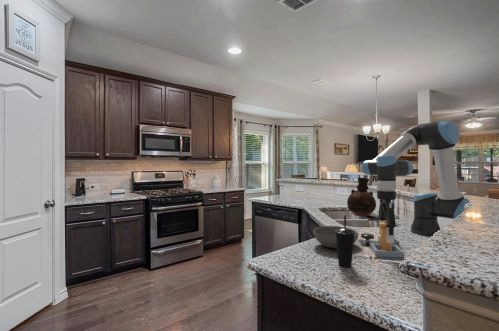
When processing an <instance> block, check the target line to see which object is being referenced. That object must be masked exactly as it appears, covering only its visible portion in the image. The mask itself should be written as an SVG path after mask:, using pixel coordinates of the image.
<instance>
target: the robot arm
mask: <svg viewBox="0 0 499 331" xmlns="http://www.w3.org/2000/svg"><path fill="white" fill-rule="evenodd" d="M459 140H460V131H459V128H458V126H457V125H456V123H455V122H453V121H451V120H446V121H444V120H443V121H442V120H441V121H435V122H427V123H420V124H419V123H418V124H416V125H413V126H411V127H410V128H408V129H406V130H405V131H403V132H402V133H401V134H399V135H398V138H397V139H396V140H395V141H394V142H393V143H391V144H390V145H389V146H387V148H385V149H383V151H382V152H380V153H379V154H378V155H377V156H376V157H374V158H373V159H368V160H364V161H363V163H362V164H361V170H362V173H363V174H364V175H366V176H372V177H373V176H376V177H377V178H376V182H375V185H376V189H377V191H376V198H377V199H378V200H379V207H378V215H377V218H378V220H379V222H378V224H379V223H380V222H387V225H386V227H387V243H394V238H395V228H396V227H397V223H396V217H395V216H396V215H395V204H394V203H393V202H392V201H396V199H397V192H396V190H397V177H405V176H406V177H408V176H409V175H411V174H412V173H413V171H414V165H413V163H412V162H410V160H406V159H399V158H400V157H401V156H403V155H404V154H405V153H406V152H407V151H408V150H410V149H414V148H415V147H416V146H427V147H428V150H430V152H432V156H433V161H434V166H435V171H436V176H437V178H436V179H437V183H438V189H439V193H435V192H434V193H433V192H432V193H430V192H429V193H417V194H415V195H414V198H413V221H412V222H411V225H410V232H411V233H412V234H413V233H414V234H416V235H422V236H423V235H424V236H429V237H430V236H432V235H433V234H434V233H435V232H437V231H438V230H440V229H441V227H440V224H439V221H438V218H442V219H443V218H444V219H450V220H454V219H455V218H456V217H457V216H458V215H460V214H461V213H462V212H463V211H464V206H465V204H467V203H470V202H471V201H470V200H469V198H466V197H464V192H461V191H460V187H459V181H458V175H457V169H456V163H455V157H454V150H453V149H454V148H455V147H456V144H457V143H458V142H459ZM470 204H471V203H470ZM455 220H456V219H455ZM378 226H379V225H378ZM378 229H379V230H378V234H379V236H381V227H380V226H379V227H378Z"/></svg>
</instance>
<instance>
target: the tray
mask: <svg viewBox="0 0 499 331" xmlns="http://www.w3.org/2000/svg"><path fill="white" fill-rule="evenodd" d="M369 248H370V250H371V251H372V253H373V255H374V256H373V258H374V259H375V260H380V261H381V260H382V261H383V260H384V261H395V262H397V261H399V262H403V261H402V260H403V259H405V251H403V249H400V248H399V247H398V246H397V245H392V251H385V250H381V244H372V243H370V247H369Z"/></svg>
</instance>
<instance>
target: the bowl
mask: <svg viewBox="0 0 499 331" xmlns="http://www.w3.org/2000/svg"><path fill="white" fill-rule="evenodd" d="M340 228H344V226H336V225H335V226H334V225H333V226H332V225H331V226H330V225H329V226H328V225H324V226H317V227H315V228H313V230H312V233H313V236H314V238H315V239H316V241H317V242H318V243H320V245H322V246H323V247H326V248H329V249H336V250H337V240H336V232H335V230H337V229H340ZM347 228H348V229H351V230H353V231H355V234H354V244H355V243H356V242H357V241H358V240H359V239H358V238H359V232H358V231H357V230H355V229H352V228H349V227H347Z"/></svg>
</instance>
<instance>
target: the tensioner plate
mask: <svg viewBox="0 0 499 331" xmlns="http://www.w3.org/2000/svg"><path fill="white" fill-rule="evenodd" d="M360 238H361V239H357V241H358V243H359V244H360V246H361V247H362V248H370V243H372V244H381V236H378V237H377V239H378V240H374V239H375V235H374V234H372V233H367V232H366V233H361V234H360ZM392 245H397V246H398V247H399V248H400V249H401V250H404V248H403V246H401V245H400V241H399V240H398V239H396V238H395V237H394V243H392Z"/></svg>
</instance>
